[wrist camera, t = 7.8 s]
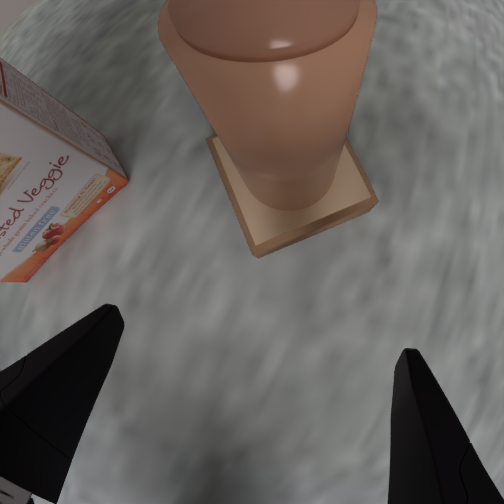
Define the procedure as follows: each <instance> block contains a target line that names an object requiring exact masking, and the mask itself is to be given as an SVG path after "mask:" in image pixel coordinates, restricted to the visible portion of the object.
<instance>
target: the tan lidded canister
mask: <svg viewBox="0 0 504 504" xmlns="http://www.w3.org/2000/svg"><path fill="white" fill-rule="evenodd" d="M376 19H377V8H376V4H375V0H166V2H165V3H164V5H163V7H162V10H161V12H160V15H159V20H158V32H159V37H160V40H161V42H162V44H163V46H164V48H165V49H166V51H167V52H168V54H169V56H170V57H171V59H172V61H173V62H174V64H175V66H176V67H177V69H178V70H179V72H180V74H181V75H182V77H183V79H184V80H185V82H186V84H187V85H188V87H189V89H190V90H191V92H192V94H193V95H194V97H195V99H196V100H197V102H198V104H199V105H200V107H201V109H202V110H203V112H204V114H205V116H206V117H207V119H208V121H209V122H210V124H211V126H212V127H213V129H214V131H215V133H216V134H217V136H218V138H219V139H220V141H221V143H222V145H223V146H224V148H225V150H226V151H227V153H228V155H229V157H230V158H231V160H232V162H233V164H234V165H235V167H236V169H237V171H238V172H239V174H240V176H241V177H242V179H243V181H244V183H245V185H246V186H247V188H248V190H249V191H250V192H251V194H252V195H253V196H254V197H255V198H256V199H257V200H259V201H260V202H261V203H263V204H264V205H267V206H269V207H271V208H274V209H278V210H284V211H294V210H300V209H304V208H307V207H309V206H311V205H313V204H315V203H316V202H318V201H319V200H320V199H321V198H323V197H324V195H325V194H326V193H327V192H328V190H329V189H330V187H331V185H332V183H333V180H334V177H335V174H336V170H337V167H338V164H339V160H340V157H341V154H342V150H343V147H344V143H345V140H346V137H347V133H348V130H349V126H350V122H351V119H352V115H353V112H354V108H355V104H356V101H357V97H358V93H359V89H360V86H361V82H362V78H363V74H364V70H365V66H366V62H367V58H368V54H369V50H370V46H371V41H372V37H373V33H374V28H375V24H376Z"/></svg>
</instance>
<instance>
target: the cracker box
mask: <svg viewBox="0 0 504 504" xmlns="http://www.w3.org/2000/svg"><path fill="white" fill-rule="evenodd" d="M128 182H129V179H128V178H127V176H126V174H125V173H124V171H123V169H122V167H121V166H120V164H119V162H118V160H117V159H116V157H115V155H114V153H113V152H112V150H111V148H110V146H109V144H108V143H107V141H106V139H105V137H104V136H103V135H102V134H101V133H100V132H99V131H97V130H96V129H95V128H93V127H92V126H91V125H89V124H88V123H87V122H85V121H84V120H83V119H81V118H80V117H79V116H78V115H76V114H75V113H74V112H72V111H71V110H70V109H68V108H67V107H66V106H64V105H63V104H62V103H61V102H59V101H58V100H56V99H55V98H54V97H52V96H51V95H50V94H48V93H47V92H46V91H45V90H43V89H42V88H41V87H39V86H38V85H37V84H35V83H34V82H33V81H31V80H30V79H28V78H27V77H26V76H24V75H23V74H22V73H20V72H19V71H18V70H16V69H15V68H14V67H12V66H11V65H10V64H8V63H7V62H6V61H4V60H3V59H2V58H0V282H27V281H28V280H29V279H30V278H31V276H32V275H33V274H34V273H35V272H36V271H37V270H38V269H39V268H40V266H41V265H42V264H43V263H44V262H45V261H46V260H47V259H48V258H49V257H50V256H51V255H52V254H53V253H54V252H55V251H56V250H57V249H58V247H59V246H60V245H61V244H62V243H63V242H64V241H65V240H66V239H67V238H69V236H70V235H72V234H73V232H75V231H76V230H77V229H78V228H79V227H80V226H81V225H82V224H83V223H84V222H85V221H86V220H87V219H88V218H89V217H90V216H91V215H92V214H94V213H95V212H96V211H97V210H98V209H99V208H100V207H101V206H102V205H103V204H105V203H106V202H107V201H108V200H109V199H110V198H111V197H112V196H113V195H115V194H116V193H117V192H118V191H119V190H120V189H122V188H123V187H124V186H125V185H126V184H127V183H128Z"/></svg>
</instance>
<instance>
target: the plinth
mask: <svg viewBox="0 0 504 504" xmlns="http://www.w3.org/2000/svg"><path fill="white" fill-rule="evenodd" d="M206 141H207V144H208V146H209V149H210V151H211V154H212V156H213V159H214V161H215V164H216V166H217V169H218V171H219V174H220V176H221V179H222V181H223V184H224V186H225V189H226V191H227V194H228V196H229V198H230V201H231V203H232V206H233V208H234V211H235V213H236V216H237V218H238V221H239V223H240V226H241V228H242V231H243V233H244V236H245V238H246V241H247V243H248V246H249V248H250V251H251V253H252V255H253V256H255V257H257V258H260V257H263V256H265V255H267V254H270V253H272V252H275V251H277V250H279V249H282V248H284V247H286V246H289V245H291V244H294V243H296V242H298V241H301V240H303V239H306V238H308V237H310V236H313V235H315V234H317V233H320V232H322V231H324V230H327V229H329V228H332V227H334V226H336V225H339V224H341V223H343V222H346V221H348V220H350V219H353V218H355V217H357V216H360V215H362V214H365V213H367V212H369V211H370V210H371V209H372V208H373V207H374V206H375V205H376V204H377V203H378V202H379V201H378V199H377V197H376V195H375V193H374V191H373V189H372V186H371V184H370V182H369V180H368V178H367V176H366V174H365V172H364V170H363V168H362V167H361V165H360V163H359V161H358V159H357V157H356V155H355V153H354V151H353V149H352V148H351V146H350V144H349V142H348V140H347V138H346V140H345V143H344V147H343V150H342V154H341V157H340V160H339V164H338V167H337V170H336V174H335V177H334V180H333V183H332V185H331V187H330V189H329V190H328V192H327V193H326V194H325V195H324V197H323V198H321V199H320V200H319V201H318V202H316V203H315V204H313V205H311V206H309V207H307V208H304V209H300V210H294V211H284V210H278V209H274V208H271V207H269V206H267V205H264V204H263V203H261V202H260V201H259V200H257V199H256V198H255V197H254V196H253V195H252V194H251V192H250V191H249V190H248V188H247V186H246V185H245V183H244V181H243V179H242V177H241V176H240V174H239V172H238V171H237V169H236V167H235V165H234V164H233V162H232V160H231V158H230V157H229V155H228V153H227V151H226V150H225V148H224V146H223V145H222V143H221V141H220V139H219V138H218V136H217V134H215V135H212V136H210V137H208V138H206Z"/></svg>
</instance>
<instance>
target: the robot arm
mask: <svg viewBox="0 0 504 504" xmlns="http://www.w3.org/2000/svg"><path fill="white" fill-rule="evenodd" d="M123 330H124V320H123V318H122V316H121V313H120V311H119V309H118V307H117V306H116V305H112V304H104V305H102V306H101V307H99V308H98V309H96V310H95V311H93V312H91V313H90V314H88V315H87V316H85V317H84V318H82V319H81V320H79V321H77V322H76V323H74V324H73V325H71V326H70V327H68V328H67V329H65V330H64V331H62V332H61V333H59V334H57V335H56V336H54V337H53V338H51V339H50V340H48V341H47V342H45V343H44V344H42V345H41V346H39V347H38V348H36V349H35V350H33V351H32V352H30V353H29V354H27V356H24V357H23V358H21V359H20V360H18V361H17V362H15V363H14V364H12V365H11V366H9V367H7V368H6V369H4V370H2V371H1V372H0V504H34V501H33V498H31V495H32V494H34V495H36V496H38V497H41V498H43V499H45V500H47V501H49V502H52V503H54V504H57V502H58V499H59V496H60V493H61V490H62V487H63V484H64V481H65V479H66V476H67V473H68V470H69V468H70V465H71V462H72V459H73V456H74V454H75V451H76V449H77V446H78V443H79V441H80V438H81V436H82V433H83V431H84V428H85V426H86V423H87V421H88V418H89V416H90V413H91V411H92V409H93V406H94V404H95V402H96V399H97V397H98V395H99V392H100V390H101V388H102V385H103V383H104V381H105V379H106V376H107V374H108V372H109V369H110V367H111V365H112V362H113V359H114V356H115V353H116V350H117V347H118V344H119V341H120V338H121V336H122V333H123ZM388 504H504V499H503V497H502V496H501V494H500V493H499V491H498V489H497V488H496V486H495V484H494V483H493V481H492V480H491V478H490V476H489V475H488V473H487V471H486V470H485V468H484V466H483V465H482V463H481V461H480V459H479V457H478V455H477V453H476V451H475V449H474V447H473V445H472V443H470V440H469V438H468V436H467V434H466V432H465V430H464V428H463V426H462V425H461V423H460V421H459V419H458V417H457V415H456V414H455V412H454V410H453V408H452V406H451V405H450V403H449V401H448V399H447V397H446V396H445V394H444V392H443V390H442V389H441V387H440V385H439V384H438V382H437V380H436V378H435V377H434V375H433V373H432V372H431V370H430V368H429V367H428V365H427V363H426V362H425V360H424V358H423V357H422V355H421V354H420V352H419V351H418V350H417V349H412V348H405V349H404V350H403V351H402V353H401V355H400V357H399V359H398V361H397V363H396V366H395V371H394V385H393V397H392V408H391V444H390V475H389V492H388Z"/></svg>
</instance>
